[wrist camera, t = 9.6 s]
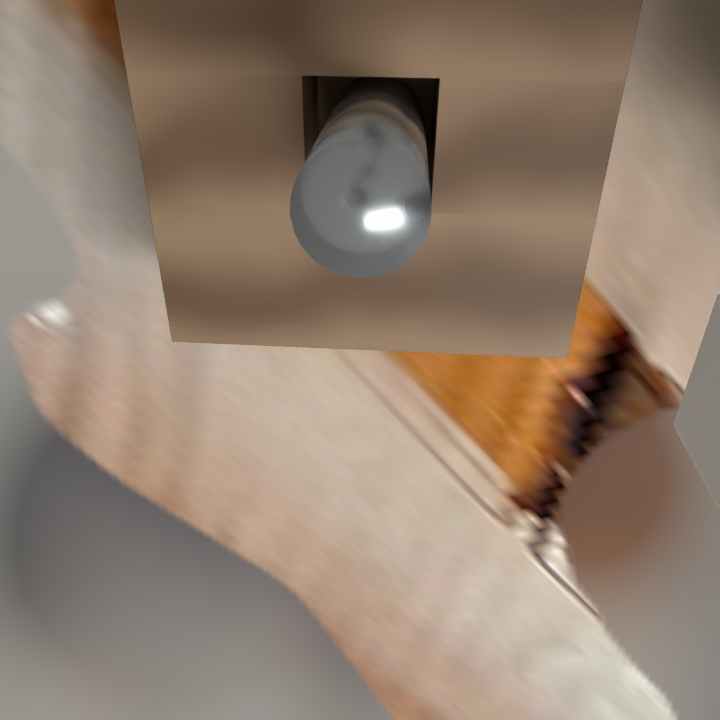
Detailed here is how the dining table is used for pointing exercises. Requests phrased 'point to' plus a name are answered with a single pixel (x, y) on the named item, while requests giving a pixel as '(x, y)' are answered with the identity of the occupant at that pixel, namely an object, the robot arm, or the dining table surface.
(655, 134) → the dining table surface
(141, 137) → the walnut block
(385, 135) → the pin
